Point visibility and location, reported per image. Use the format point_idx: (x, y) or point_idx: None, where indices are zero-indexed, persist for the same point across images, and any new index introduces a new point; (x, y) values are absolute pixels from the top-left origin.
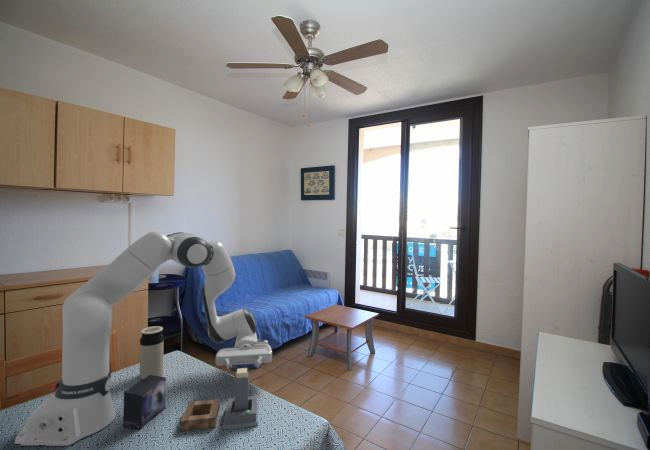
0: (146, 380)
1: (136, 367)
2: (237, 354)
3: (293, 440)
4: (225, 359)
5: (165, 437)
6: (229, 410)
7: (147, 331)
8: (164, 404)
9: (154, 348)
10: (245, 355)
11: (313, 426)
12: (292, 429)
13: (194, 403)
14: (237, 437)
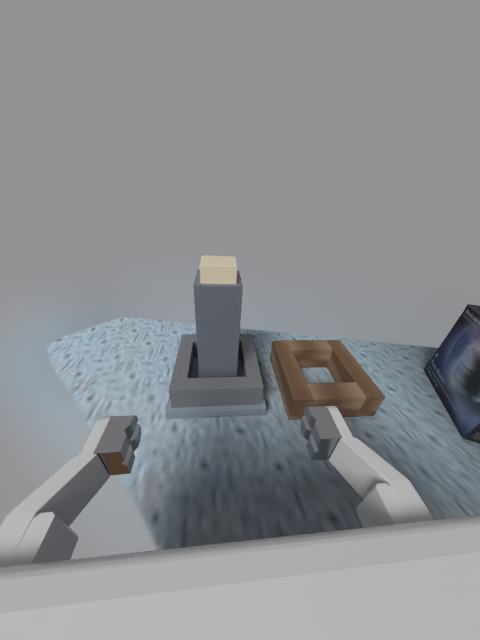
0: None
1: None
2: (329, 570)
3: (127, 322)
4: (409, 486)
5: (350, 349)
6: (246, 347)
7: None
8: (468, 422)
9: None
10: (212, 546)
11: (68, 339)
12: (115, 338)
13: (360, 388)
14: None
